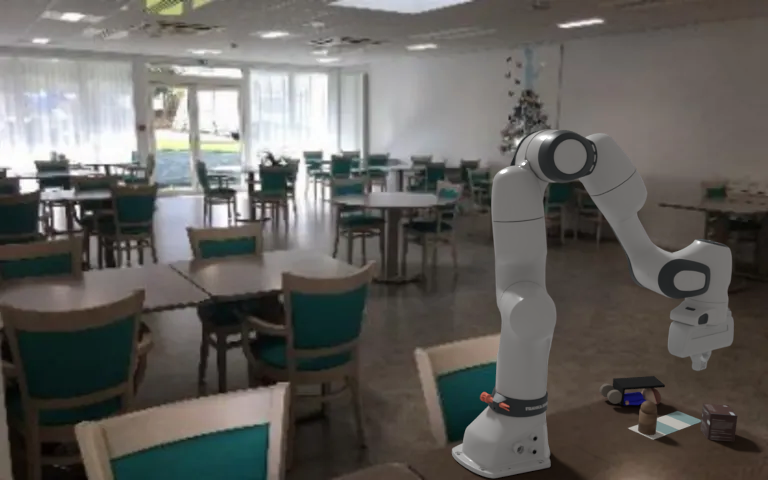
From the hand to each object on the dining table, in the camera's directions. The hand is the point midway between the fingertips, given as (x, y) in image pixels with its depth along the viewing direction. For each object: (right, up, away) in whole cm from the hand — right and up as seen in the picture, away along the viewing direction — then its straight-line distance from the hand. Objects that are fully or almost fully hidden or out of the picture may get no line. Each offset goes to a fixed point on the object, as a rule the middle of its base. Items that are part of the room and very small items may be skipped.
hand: (698, 369), depth 152 cm
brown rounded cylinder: (-9, -16, +6) cm, 20 cm away
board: (-3, -16, +10) cm, 20 cm away
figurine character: (-7, -15, +23) cm, 28 cm away
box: (+7, -18, +5) cm, 20 cm away
